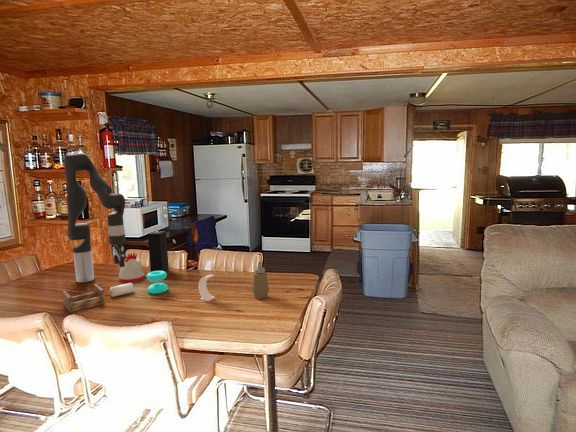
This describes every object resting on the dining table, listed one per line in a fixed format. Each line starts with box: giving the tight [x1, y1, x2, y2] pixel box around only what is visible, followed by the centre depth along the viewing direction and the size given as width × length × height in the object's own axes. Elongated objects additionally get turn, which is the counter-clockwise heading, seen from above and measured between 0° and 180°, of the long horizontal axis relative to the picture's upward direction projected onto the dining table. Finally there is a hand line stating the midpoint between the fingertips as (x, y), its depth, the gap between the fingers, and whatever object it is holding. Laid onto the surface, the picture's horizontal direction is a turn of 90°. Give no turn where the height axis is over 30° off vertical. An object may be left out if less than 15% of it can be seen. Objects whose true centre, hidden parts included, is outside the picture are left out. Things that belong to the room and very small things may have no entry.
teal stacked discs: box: [145, 271, 169, 295], centre depth 194 cm, size 10×10×10 cm
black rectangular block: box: [147, 226, 170, 273], centre depth 228 cm, size 8×8×28 cm
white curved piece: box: [197, 273, 216, 302], centre depth 181 cm, size 5×6×12 cm
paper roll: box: [109, 282, 135, 298], centre depth 191 cm, size 11×5×5 cm, turn 131°
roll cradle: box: [62, 283, 105, 313], centre depth 178 cm, size 15×12×7 cm
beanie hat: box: [118, 252, 146, 283], centre depth 217 cm, size 14×14×15 cm
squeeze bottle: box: [252, 260, 270, 300], centre depth 181 cm, size 8×8×18 cm
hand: (119, 265), depth 189 cm, fingers open, 8 cm apart
